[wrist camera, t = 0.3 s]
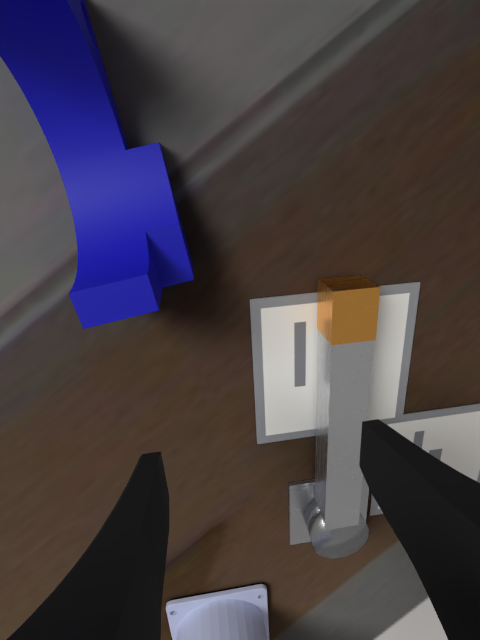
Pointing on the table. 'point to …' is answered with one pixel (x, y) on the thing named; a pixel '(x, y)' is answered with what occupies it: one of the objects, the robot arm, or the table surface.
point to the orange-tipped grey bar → (341, 412)
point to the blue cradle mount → (96, 164)
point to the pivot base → (299, 500)
